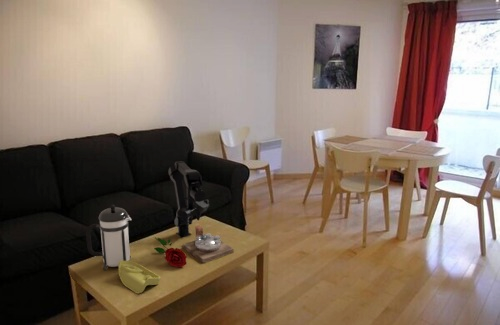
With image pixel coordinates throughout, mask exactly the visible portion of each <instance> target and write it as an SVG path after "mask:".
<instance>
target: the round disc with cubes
mask: <svg viewBox="0 0 500 325" xmlns="http://www.w3.org/2000/svg"><path fill="white" fill-rule="evenodd" d="M211 235H212V233H210V232H209V233H205V234H204V227H202V226H201V225H200V224H199V225H196V226H195V240H194V241H195V248H196V249H197V250H198V251H201V252H214V251H216V250H218V249H219V248H220V247H221V241H222V240H221V236H220V235H218V234H217V235H212V236H211Z"/></svg>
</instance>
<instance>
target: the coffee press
mask: <svg viewBox="0 0 500 325" xmlns="http://www.w3.org/2000/svg"><path fill="white" fill-rule="evenodd" d="M98 220H99V223H92V224H90V225H89V226H88V227H87V229H86V231H85V232H86V233H85V237H86V248H87V252H88V253H89V254H90V255H91V256H93V257H102V261H103V266H102V271H107V270H108V268H109V267H111V268H112V267H113V268H114V267H119V262H120V261H130V259H131V257H132V256H131V253H130V252H131V251H130V250H131V249H130V240H129V239H130V238H129V221H132V218H131V217H130V215H129V213H128V212H127V211H126V210H125V209H124V208H122V207H116V205H115V204H111V205H110V206H109V208H106V209H104V210H102V211H101V212H100V213H99V216H98ZM97 228H99V229H100V238H101V248H102V249H101V250H102V251H94V249H93V247H92V239H91V238H92V237H91V231H92V230H93V229H97Z"/></svg>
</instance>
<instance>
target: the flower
mask: <svg viewBox="0 0 500 325" xmlns="http://www.w3.org/2000/svg"><path fill="white" fill-rule="evenodd" d="M155 239H156V240H157V241H158V242H159V244H161V245H162V247H163V248H162V247H153V248H154V250H155V251H156V252H157V253H158V254H164V255H165V256H164V259H165V261H166V262H167V263H169V265H170V267H177V268H183V267H185V266H186V265H187V255H186V253H185V252H184V251H183V250H182V249H180V248H174V247H171V246H172V244H173V242H172V241H171V239H170V238H167V241H166V240H165V239H162V238H161V237H160V238H159V237H155ZM166 246H170V247H169V248H168V247H166Z"/></svg>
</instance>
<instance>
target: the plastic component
mask: <svg viewBox="0 0 500 325" xmlns="http://www.w3.org/2000/svg"><path fill="white" fill-rule="evenodd" d="M117 267H118V275H119V276H118V277H119V278H120V281H121V282H122V284H123V285H124V286H125V287H126V288H128V289H130V290H131V291H132V292H134V293H135V294H142V293H143V292H144V291H145V289H146V287H147V286H157V285H158V284H159V283H160V280H161V276H160V275H158V274H156V273H155V272H154V271H152V270H150V269H148V268H147V267H145V266H143V265H141V264H140V263H137V262H135V261H131V260H129V261H120V262H119V266H117Z"/></svg>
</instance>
